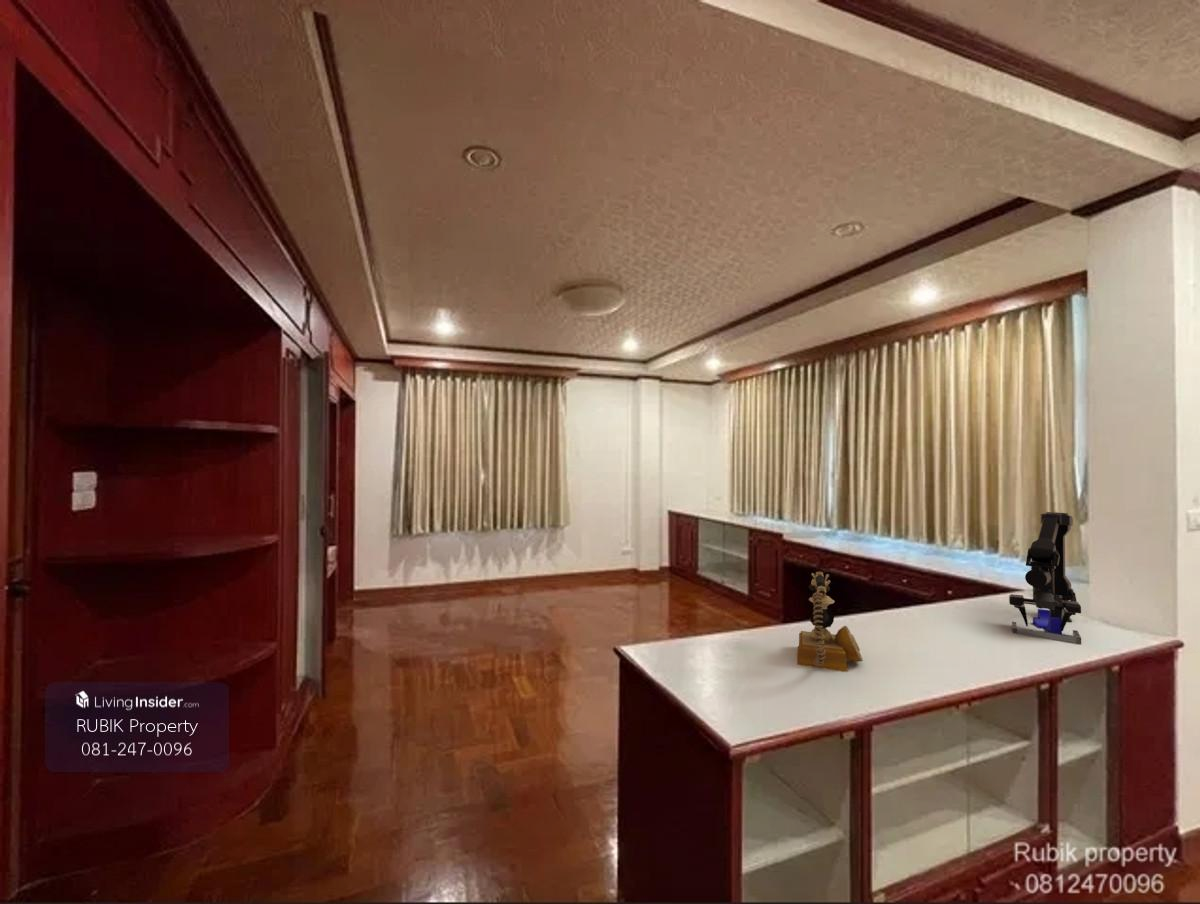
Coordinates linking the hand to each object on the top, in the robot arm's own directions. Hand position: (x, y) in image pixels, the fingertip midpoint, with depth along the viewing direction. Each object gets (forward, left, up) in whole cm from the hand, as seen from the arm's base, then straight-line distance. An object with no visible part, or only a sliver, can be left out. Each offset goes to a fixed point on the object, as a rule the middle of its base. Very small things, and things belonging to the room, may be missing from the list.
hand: (1044, 628), depth 182 cm
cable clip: (-5, +1, -2) cm, 5 cm away
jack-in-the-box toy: (+76, -52, -2) cm, 92 cm away
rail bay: (+3, 0, -2) cm, 4 cm away
